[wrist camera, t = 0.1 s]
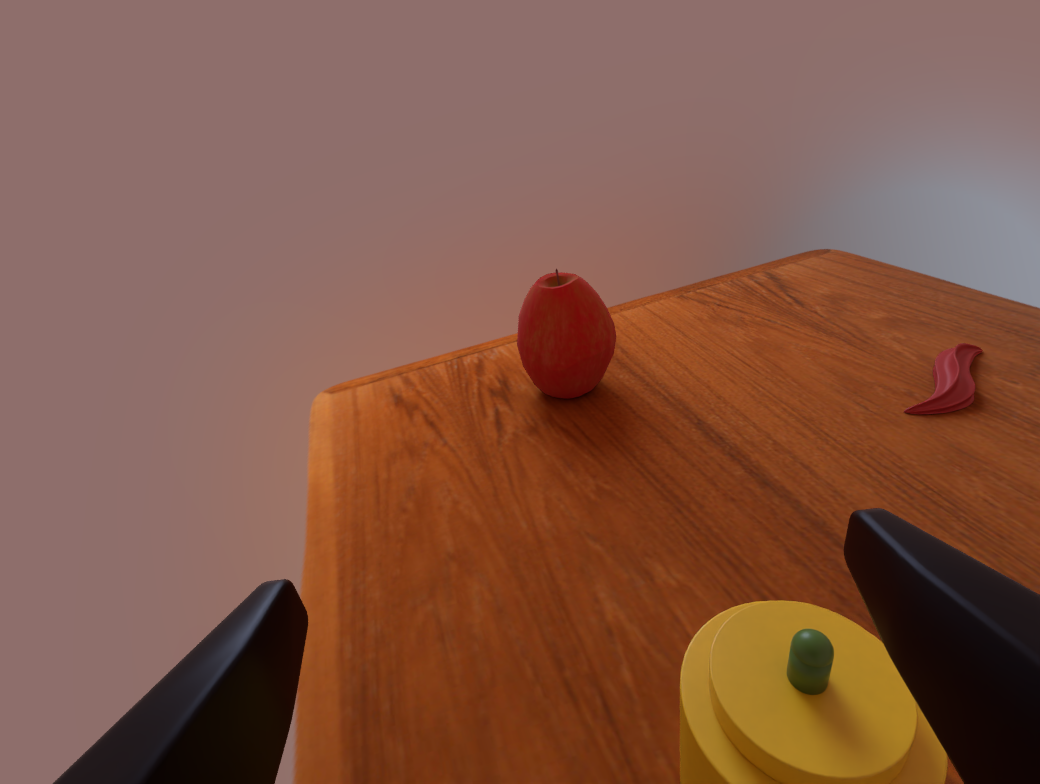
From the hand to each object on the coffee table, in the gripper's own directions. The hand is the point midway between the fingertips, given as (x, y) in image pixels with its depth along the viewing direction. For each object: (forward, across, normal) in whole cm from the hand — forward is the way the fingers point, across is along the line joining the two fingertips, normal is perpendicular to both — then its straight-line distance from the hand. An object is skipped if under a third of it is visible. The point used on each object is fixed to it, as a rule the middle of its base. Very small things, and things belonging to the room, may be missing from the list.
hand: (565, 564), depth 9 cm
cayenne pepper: (+30, -30, +18) cm, 46 cm away
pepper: (+3, -6, +18) cm, 19 cm away
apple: (+37, -2, +18) cm, 41 cm away
